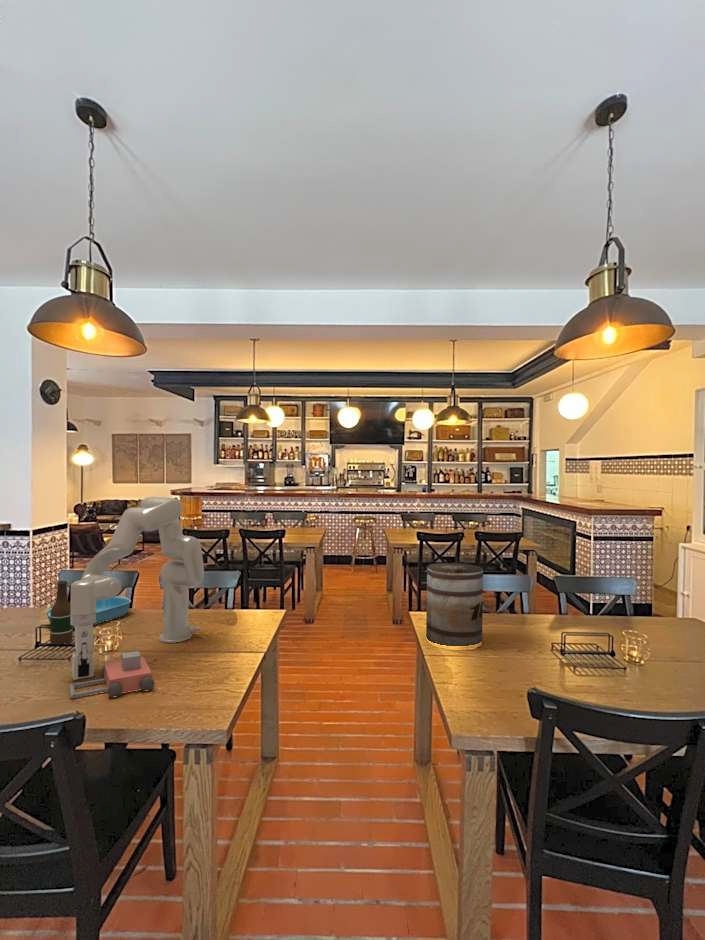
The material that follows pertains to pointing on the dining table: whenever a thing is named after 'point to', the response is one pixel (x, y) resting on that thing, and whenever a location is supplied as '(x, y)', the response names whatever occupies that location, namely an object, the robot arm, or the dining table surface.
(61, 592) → the beer bottle
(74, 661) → the stepped cream block
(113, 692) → the pink toy truck
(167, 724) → the dining table surface
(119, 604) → the casserole dish
